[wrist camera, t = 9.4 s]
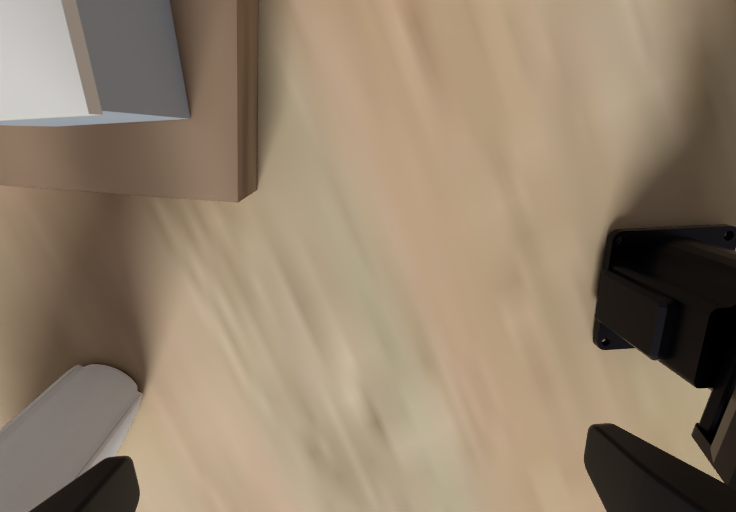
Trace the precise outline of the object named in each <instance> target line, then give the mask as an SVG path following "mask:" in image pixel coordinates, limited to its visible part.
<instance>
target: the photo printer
mask: <svg viewBox="0 0 736 512" xmlns="http://www.w3.org/2000/svg"><path fill="white" fill-rule="evenodd" d="M141 399H142V393H140V392H138V391H137V385H136V383H135V382H134V381H133V380H132V379H131V378H130V377H129V376H128V375H126V374H125V373H123V372H122V371H120V370H118V369H116V368H113V367H110V366H106V365H100V364H91V365H87V366H85V367H83V366H81V365H76V366H74V367H73V368H71V369H70V370H68V371H67V372H66V373H64V374H63V375H62V376H61V377H60V378H59V379H57V380H56V381H55V382H54V383H53V384H52V385H51V386H50V387H48V388H47V389H46V390H45V391H44V392H43V393H42V394H40V395H39V396H38V397H37V398H36V399H35V400H34V401H33V402H31V403H30V404H29V405H28V406H27V407H26V408H25V409H23V410H22V411H21V412H20V413H19V414H18V415H17V416H15V417H14V418H13V419H12V420H11V421H10V422H9V423H8V424H6V425H5V426H4V427H3V428H2V429H1V430H0V512H29V511H30V510H32V509H33V508H35V507H36V506H38V505H39V504H40V503H42V502H43V501H45V500H46V499H47V498H49V497H50V496H52V495H53V494H55V493H56V492H57V491H59V490H60V489H62V488H63V487H65V486H66V485H67V484H69V483H70V482H72V481H73V480H75V479H76V478H77V477H79V476H80V475H82V474H83V473H85V472H86V471H87V470H89V469H90V468H92V467H93V466H95V465H96V464H97V463H99V462H100V461H102V460H103V459H105V458H108V457H115V455H116V453H117V451H118V449H119V447H120V445H121V444H122V442H123V440H124V438H125V436H126V434H127V432H128V430H129V428H130V426H131V424H132V422H133V420H134V418H135V416H136V413H137V411H138V408H139V405H140V403H141Z"/></svg>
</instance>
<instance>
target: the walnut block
mask: <svg viewBox="0 0 736 512" xmlns="http://www.w3.org/2000/svg"><path fill="white" fill-rule="evenodd" d="M170 5H171V11H172V17H173V22H174V28H175V34H176V39H177V45H178V51H179V56H180V62H181V68H182V73H183V79H184V85H185V90H186V96H187V102H188V108H189V113H190V119H179V120H162V121H144V122H127V123H109V124H92V125H74V126H57V127H54V126H10V125H0V185H4V186H18V187H32V188H45V189H59V190H73V191H87V192H101V193H114V194H128V195H142V196H156V197H169V198H183V199H197V200H211V201H224V202H239V201H241V200H242V199H244V198H245V197H247V196H249V195H250V194H252V193H253V192H255V191H256V190H257V133H258V0H170Z"/></svg>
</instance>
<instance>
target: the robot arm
mask: <svg viewBox="0 0 736 512" xmlns="http://www.w3.org/2000/svg"><path fill="white" fill-rule="evenodd" d="M725 233H726V236H725V237H724V235H725ZM621 236H622V240H621V242H620V243H618V244H617V240H618V238H619V237H621ZM735 248H736V227H734V226H730V225H725V224H719V225H698V226H677V227H656V228H635V229H617V230H614V231H612V232H611V233H610V234H609V236H608V238H607V244H606V251H605V258H604V265H603V272H602V274H601V278H600V285H599V292H598V299H597V306H596V313H595V318H596V320H595V327H594V334H593V342H594V344H595V345H596V346H597V347H599V348H600V349H602V350H613V349H628V348H636V349H638V350H639V351H640V352H642V353H643V354H645V355H646V356H647V357H649V358H650V359H652V360H658V361H659V362H661V363H662V364H663V365H665V366H666V367H668V368H669V369H670V370H672V371H673V372H675V373H676V374H677V375H679V376H680V377H682V378H683V379H684V380H686V381H687V382H689V383H690V384H691V385H693V386H694V387H696V388H708V389H710V390H711V391H712V392H711V394H710V397H709V399H708V402H707V404H706V407H705V410H704V412H703V415H702V417H701V420H700V422H699V423H696V424H695V427H694V429H693V432H692V434H691V435H692V437H693V439H694V440H695V441H696V443H697V444H698V446H699V447H700V449H701V450H702V451H703V453H704V454H705V456H706V457H707V459H708V460H709V461H710V463H711V464H712V466H713V467H714V469H715V470H716V471H717V473H718V474H719V476H720V477H721V479H722V480H723V481H724V483H723V482H721V481H719V480H717V479H715V478H713V477H712V476H710V475H708V474H706V473H704V472H702V471H700V470H698V469H697V468H695V467H693V466H691V465H689V464H687V463H685V462H683V461H682V460H680V459H678V458H676V457H674V456H672V455H670V454H668V453H667V452H665V451H663V450H661V449H659V448H657V447H655V446H653V445H652V444H650V443H648V442H646V441H644V440H642V439H640V438H638V437H637V436H635V435H633V434H631V433H629V432H627V431H625V430H623V429H622V428H620V427H618V426H616V425H614V424H611V423H604V424H593V425H591V426H590V427H589V429H588V433H587V440H586V446H585V453H584V463H585V467H586V470H587V472H588V474H589V476H590V478H591V481H592V483H593V485H594V487H595V489H596V491H597V493H598V495H599V497H600V499H601V501H602V503H603V505H604V507H605V509H606V511H607V512H736V251H735ZM606 337H607V338H606ZM604 338H606V340H605V341H604V342H602V340H603V339H604ZM139 496H140V490H139V485H138V480H137V476H136V472H135V468H134V464H133V461H132V459H131V458H130V457H129V456H116V457H108V458H105V459H103V460H102V461H100V462H99V463H97V464H96V465H95V466H93V467H92V468H90V469H89V470H87V471H86V472H85V473H83V474H82V475H80V476H79V477H77V478H76V479H75V480H73V481H72V482H70V483H69V484H67V485H66V486H65V487H63V488H62V489H60V490H59V491H57V492H56V493H55V494H53V495H52V496H50V497H49V498H47V499H46V500H45V501H43V502H42V503H40V504H39V505H38V506H36V507H35V508H33V509H32V510H30V511H29V512H135V511H136V508H137V505H138V501H139Z"/></svg>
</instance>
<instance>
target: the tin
mask: <svg viewBox="0 0 736 512" xmlns="http://www.w3.org/2000/svg"><path fill="white" fill-rule="evenodd" d="M179 119H190V113H189V108H188V102H187V96H186V90H185V85H184V79H183V73H182V68H181V62H180V56H179V51H178V45H177V39H176V34H175V28H174V22H173V17H172V11H171V5H170V0H0V125H10V126H54V127H57V126H74V125H92V124H109V123H127V122H144V121H162V120H179Z"/></svg>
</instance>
